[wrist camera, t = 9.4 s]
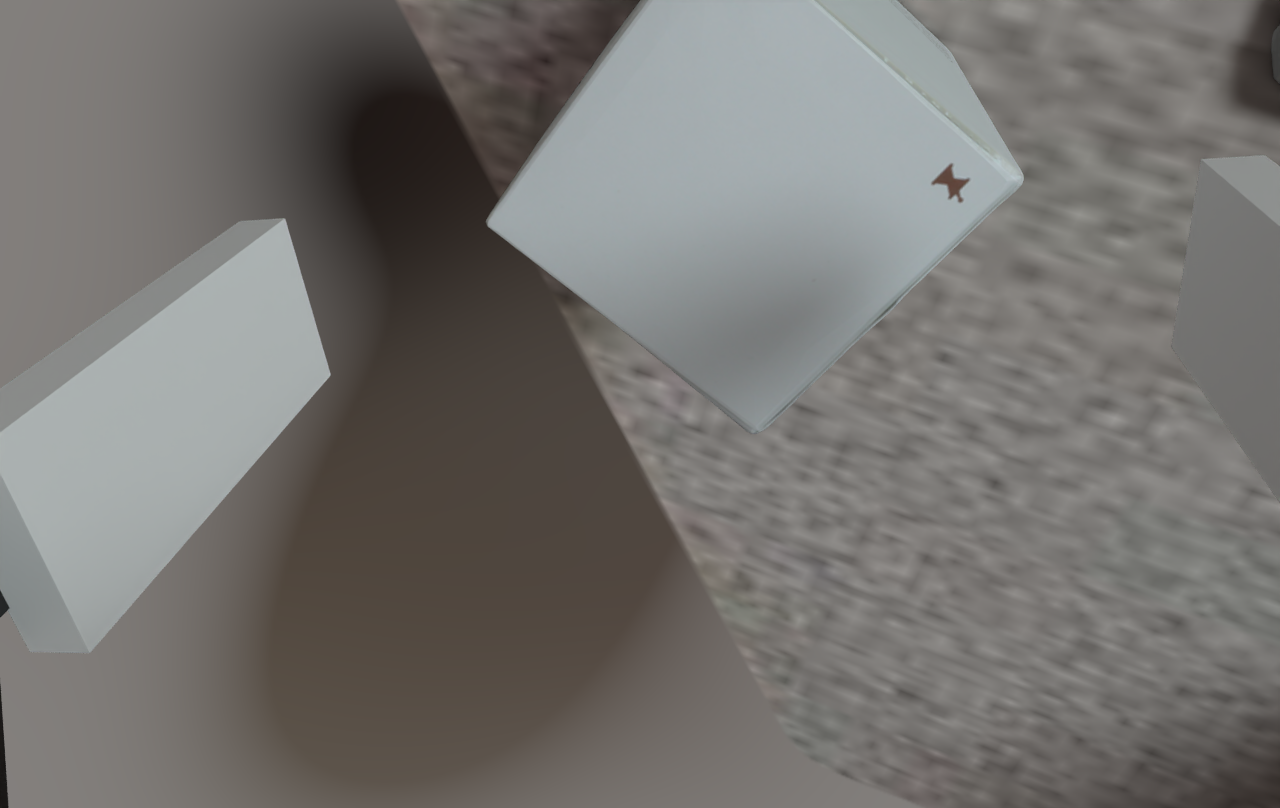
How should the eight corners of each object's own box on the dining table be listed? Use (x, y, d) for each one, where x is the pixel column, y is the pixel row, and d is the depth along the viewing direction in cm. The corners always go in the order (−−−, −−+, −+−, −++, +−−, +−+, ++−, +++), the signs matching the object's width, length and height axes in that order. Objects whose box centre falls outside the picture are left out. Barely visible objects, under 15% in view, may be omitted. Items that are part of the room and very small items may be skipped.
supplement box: (758, -133, 27) (719, -113, 16) (956, 52, 28) (1044, 187, 17) (594, 84, 30) (470, 223, 19) (778, 240, 32) (759, 449, 21)
